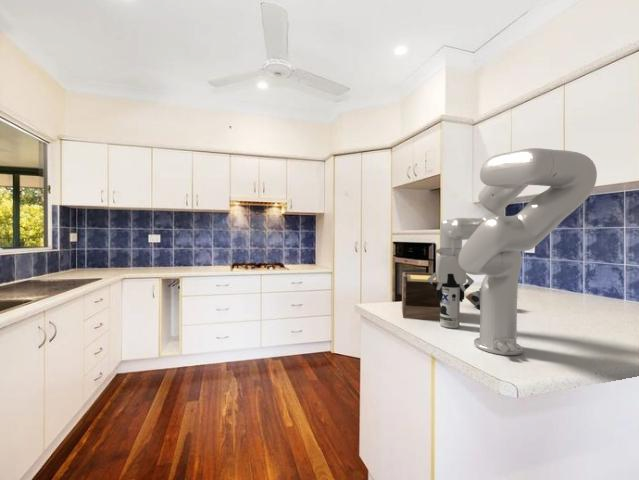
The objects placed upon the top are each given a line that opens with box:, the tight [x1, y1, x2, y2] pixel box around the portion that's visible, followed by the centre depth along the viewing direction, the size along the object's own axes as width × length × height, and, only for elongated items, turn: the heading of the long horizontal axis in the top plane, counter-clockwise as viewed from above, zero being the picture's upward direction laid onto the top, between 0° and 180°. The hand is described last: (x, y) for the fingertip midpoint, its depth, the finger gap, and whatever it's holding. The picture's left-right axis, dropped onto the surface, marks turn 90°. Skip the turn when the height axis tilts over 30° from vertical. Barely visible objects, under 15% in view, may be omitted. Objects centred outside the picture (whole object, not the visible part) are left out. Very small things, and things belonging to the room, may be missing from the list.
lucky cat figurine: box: [465, 287, 481, 308], centre depth 142 cm, size 15×12×14 cm
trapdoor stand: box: [401, 271, 441, 321], centre depth 129 cm, size 17×17×17 cm
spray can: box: [439, 274, 461, 330], centre depth 112 cm, size 7×7×20 cm
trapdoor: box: [406, 274, 438, 282], centre depth 129 cm, size 14×14×1 cm
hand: (450, 300), depth 112 cm, fingers closed on spray can, 6 cm apart
